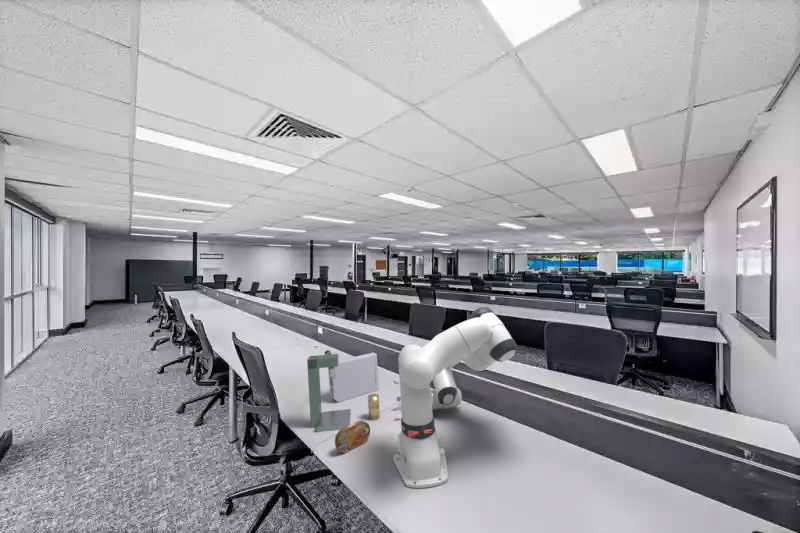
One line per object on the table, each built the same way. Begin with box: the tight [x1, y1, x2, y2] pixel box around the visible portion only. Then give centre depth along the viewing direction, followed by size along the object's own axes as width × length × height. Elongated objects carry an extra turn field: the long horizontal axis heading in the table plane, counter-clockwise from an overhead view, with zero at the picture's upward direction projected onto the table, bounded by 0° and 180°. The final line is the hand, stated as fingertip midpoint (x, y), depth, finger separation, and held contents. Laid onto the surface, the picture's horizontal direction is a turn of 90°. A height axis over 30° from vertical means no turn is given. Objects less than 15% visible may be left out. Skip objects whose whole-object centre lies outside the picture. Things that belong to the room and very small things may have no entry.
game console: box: [328, 352, 380, 403], centre depth 169 cm, size 6×27×20 cm, turn 124°
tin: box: [334, 420, 371, 454], centre depth 120 cm, size 15×3×8 cm, turn 132°
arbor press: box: [306, 350, 352, 433], centre depth 143 cm, size 21×17×30 cm
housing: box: [367, 393, 381, 421], centre depth 142 cm, size 5×5×10 cm
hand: (397, 403), depth 143 cm, fingers open, 8 cm apart
